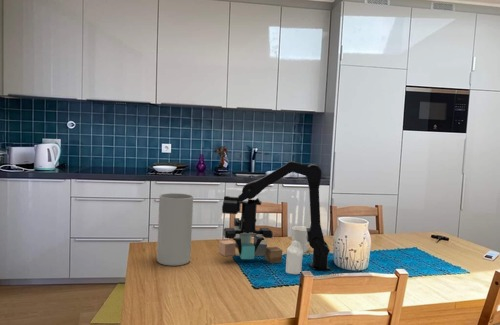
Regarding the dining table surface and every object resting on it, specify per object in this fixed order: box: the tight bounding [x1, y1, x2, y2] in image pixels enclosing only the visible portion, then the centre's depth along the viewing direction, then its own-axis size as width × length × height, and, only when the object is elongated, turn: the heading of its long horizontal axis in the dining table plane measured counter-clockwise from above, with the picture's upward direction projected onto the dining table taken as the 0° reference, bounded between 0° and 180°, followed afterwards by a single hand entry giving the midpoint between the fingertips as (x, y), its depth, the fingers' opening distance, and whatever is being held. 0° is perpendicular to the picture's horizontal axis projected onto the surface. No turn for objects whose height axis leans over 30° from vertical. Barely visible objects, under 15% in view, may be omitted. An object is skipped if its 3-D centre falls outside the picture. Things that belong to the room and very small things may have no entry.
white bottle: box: [285, 241, 304, 275], centre depth 146 cm, size 6×12×6 cm
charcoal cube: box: [254, 240, 268, 257], centre depth 166 cm, size 5×5×5 cm
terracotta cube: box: [218, 239, 237, 257], centre depth 164 cm, size 5×5×5 cm
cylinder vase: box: [156, 192, 194, 267], centre depth 150 cm, size 12×12×25 cm
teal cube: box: [238, 242, 255, 260], centre depth 155 cm, size 5×5×5 cm
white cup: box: [291, 225, 310, 254], centre depth 174 cm, size 8×8×10 cm
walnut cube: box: [264, 246, 283, 264], centre depth 158 cm, size 5×5×5 cm
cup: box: [234, 226, 253, 246], centre depth 176 cm, size 8×8×10 cm
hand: (246, 254), depth 156 cm, fingers closed on teal cube, 5 cm apart
